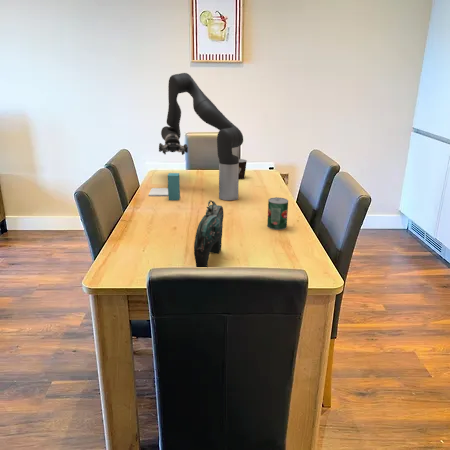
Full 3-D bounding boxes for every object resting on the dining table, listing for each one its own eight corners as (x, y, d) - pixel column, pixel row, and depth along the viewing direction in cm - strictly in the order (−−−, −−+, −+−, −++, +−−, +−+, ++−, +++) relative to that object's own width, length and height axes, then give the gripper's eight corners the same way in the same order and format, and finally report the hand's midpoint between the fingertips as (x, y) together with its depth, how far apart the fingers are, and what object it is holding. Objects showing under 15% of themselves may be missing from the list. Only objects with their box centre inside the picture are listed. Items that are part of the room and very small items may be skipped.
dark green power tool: (210, 247, 159) (210, 193, 152) (227, 249, 157) (228, 194, 150) (190, 270, 141) (189, 210, 134) (210, 273, 139) (209, 212, 132)
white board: (175, 189, 229) (175, 188, 228) (173, 196, 217) (173, 194, 217) (152, 189, 229) (152, 187, 228) (148, 196, 217) (148, 194, 217)
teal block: (180, 197, 216) (179, 173, 212) (179, 200, 211) (178, 175, 207) (169, 197, 216) (168, 173, 212) (168, 200, 211) (167, 175, 207)
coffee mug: (249, 177, 254) (249, 160, 250) (241, 180, 247) (241, 162, 243) (231, 174, 260) (231, 157, 256) (223, 177, 253) (223, 160, 249)
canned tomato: (289, 229, 176) (291, 202, 172) (269, 230, 175) (271, 203, 171) (283, 222, 184) (285, 197, 180) (265, 223, 182) (266, 197, 179)
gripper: (158, 134, 227) (159, 144, 213) (186, 136, 230) (189, 145, 216) (158, 149, 231) (159, 159, 217) (185, 150, 233) (188, 160, 219)
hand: (174, 152), depth 216 cm, fingers open, 8 cm apart
